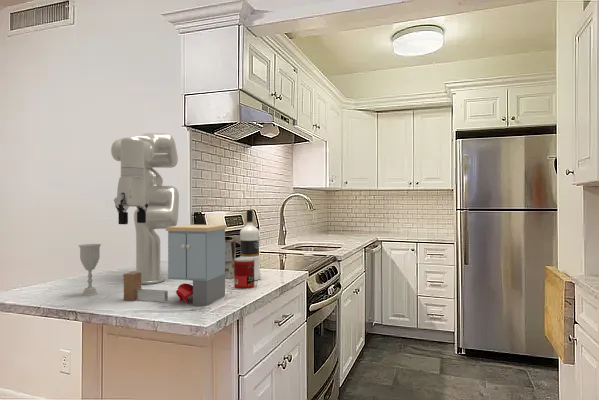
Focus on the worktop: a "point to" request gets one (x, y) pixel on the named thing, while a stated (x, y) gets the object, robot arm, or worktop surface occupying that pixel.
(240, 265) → the canned food
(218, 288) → the cabinet
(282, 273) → the worktop surface
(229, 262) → the coffee box
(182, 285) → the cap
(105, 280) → the worktop surface
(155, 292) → the blade tool
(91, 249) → the chalice
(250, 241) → the vodka
